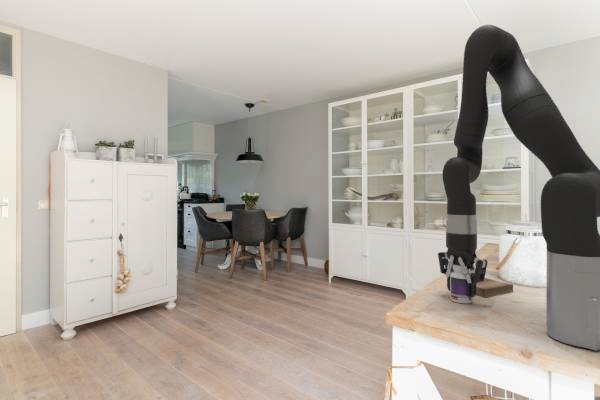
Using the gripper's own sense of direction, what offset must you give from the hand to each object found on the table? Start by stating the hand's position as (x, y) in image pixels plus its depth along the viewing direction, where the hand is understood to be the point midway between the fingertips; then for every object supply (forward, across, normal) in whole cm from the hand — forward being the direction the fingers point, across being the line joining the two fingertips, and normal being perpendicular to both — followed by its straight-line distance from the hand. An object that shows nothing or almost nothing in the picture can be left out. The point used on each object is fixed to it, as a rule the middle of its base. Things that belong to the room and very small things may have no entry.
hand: (461, 293), depth 86 cm
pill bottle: (+2, 0, 0) cm, 2 cm away
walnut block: (+3, +5, -14) cm, 15 cm away
